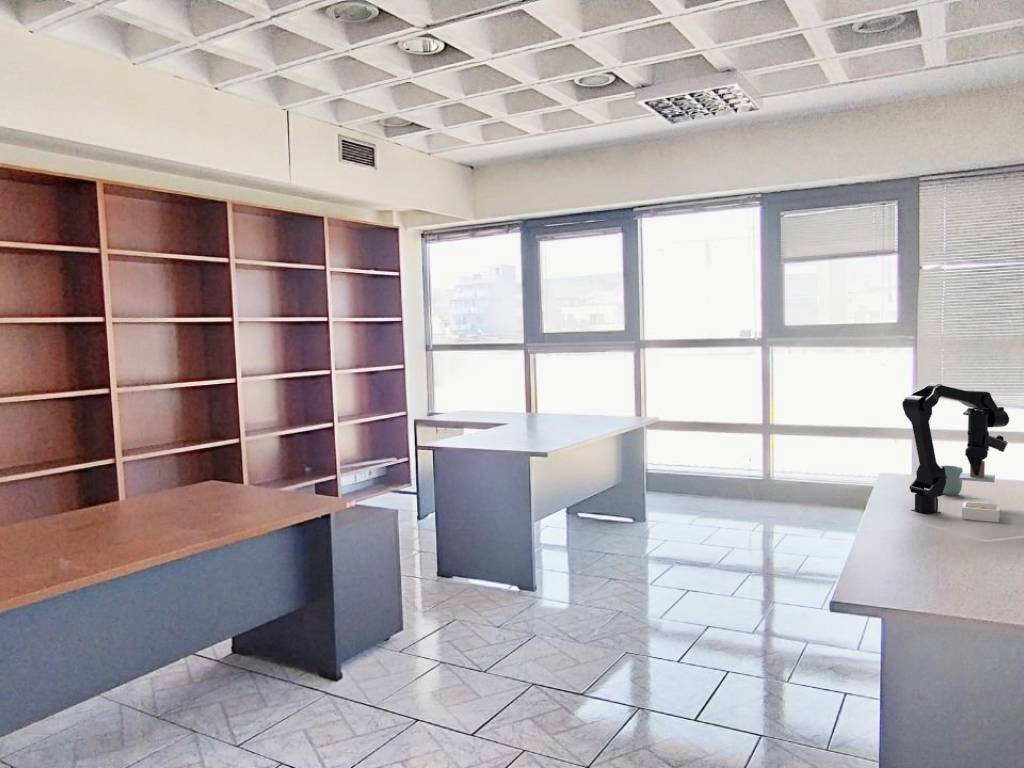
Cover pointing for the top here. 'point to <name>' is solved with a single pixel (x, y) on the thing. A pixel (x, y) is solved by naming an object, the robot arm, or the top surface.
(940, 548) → the top surface
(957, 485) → the cup
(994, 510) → the box
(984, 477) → the lid
